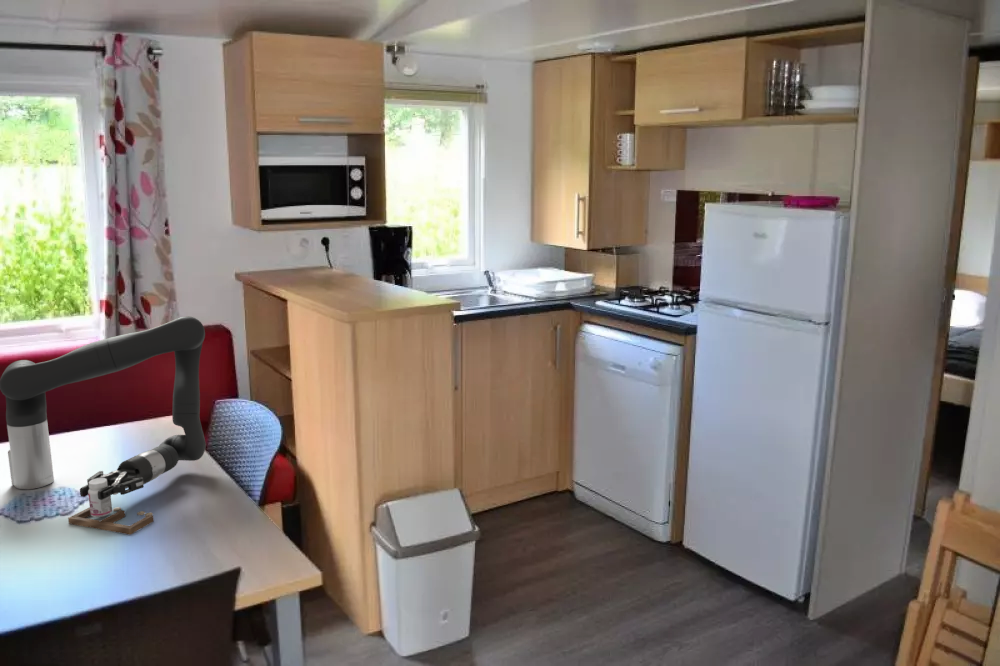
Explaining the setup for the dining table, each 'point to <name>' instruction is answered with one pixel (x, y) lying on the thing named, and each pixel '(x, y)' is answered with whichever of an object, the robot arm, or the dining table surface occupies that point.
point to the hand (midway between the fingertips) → (90, 494)
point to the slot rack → (111, 521)
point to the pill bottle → (98, 506)
